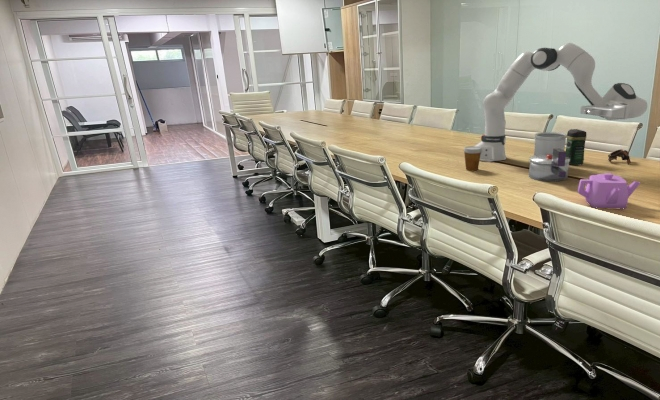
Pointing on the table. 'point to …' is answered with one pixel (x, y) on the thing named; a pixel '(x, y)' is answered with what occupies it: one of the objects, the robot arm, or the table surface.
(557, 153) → the lid
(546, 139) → the utensil holder
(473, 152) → the disposable coffee cup
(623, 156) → the brown arched piece
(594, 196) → the teakettle
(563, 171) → the pot
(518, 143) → the table surface
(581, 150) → the coffee jar
